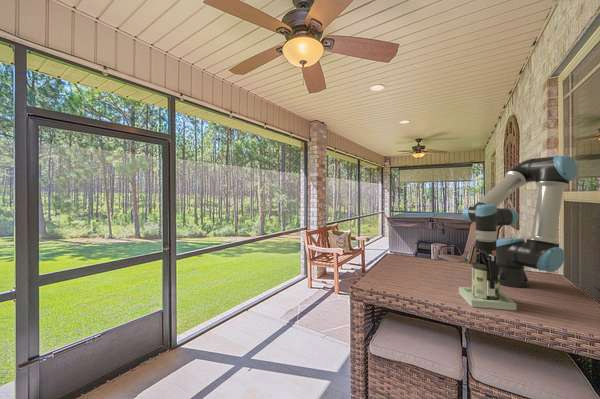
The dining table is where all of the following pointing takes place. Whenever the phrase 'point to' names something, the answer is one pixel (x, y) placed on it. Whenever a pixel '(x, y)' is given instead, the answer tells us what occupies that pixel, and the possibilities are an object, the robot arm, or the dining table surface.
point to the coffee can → (483, 283)
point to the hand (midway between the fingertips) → (485, 291)
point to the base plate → (473, 302)
